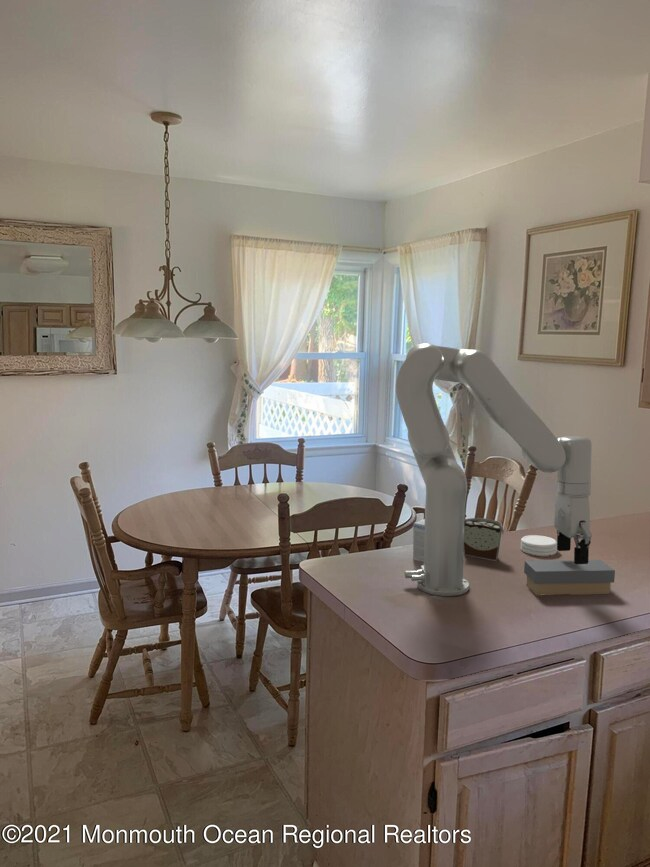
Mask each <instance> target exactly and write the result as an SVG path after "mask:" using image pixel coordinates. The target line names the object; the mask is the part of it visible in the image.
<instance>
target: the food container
mask: <svg viewBox="0 0 650 867" xmlns="http://www.w3.org/2000/svg"><path fill="white" fill-rule="evenodd" d="M504 533H505V530H504V527H503V524H502V523H501V522H500V521H499V520H495V519H490V518H483V517H482V518H481V517H472V518H471V517H470V518H465V520H464V556H467V557H472V558H478V559H483V560H488V561H494V562H497V561H498V560H499V558H498V557H499V552H500V544H501V539H502V538H501V537H502V535H504Z"/></svg>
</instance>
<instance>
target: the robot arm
mask: <svg viewBox="0 0 650 867" xmlns="http://www.w3.org/2000/svg"><path fill="white" fill-rule="evenodd" d="M435 381H442V382H450V383H451V382H452V383H461V384H463V386H465V388H466V389H467V390H468V392H469V393H470V394H471V395H472V397H473V398H474V399H475V400H476V401H477V403H478V404H479V405H480V406H481V408H482V409H483V411H485V412H486V414H487V416H488V417H489V418H490V419H491V420H492V421H493V422H494V423H495V425H497V426H498V427H500V428H501V429H502V430H503V431H505V432H506V433H507V434H508V435H509V436H510V437H511V438H512V439H513V441H515V442H516V444H518V446H519V447H520V448H521V454H522V457H523V458H524V460H525V461H526V462H527V463H528V464H530V465H531V466H532V467H534V468H536V469H537V470H538V471H540V472H542V473H547V474H548V473H549V474H550V473H551V474H552V473H556V497H555V499H556V500H555V504H554V506H555V507H554V521H553V525H554V528H555V529H556V535H557V536H556V541H557V552H558V551H559V552H568V551H571V542H572V541H571V539H573V541H574V544H575V547H574V550H573V554H574V555H573V560H574V563H575V564H588V560H589V556H590V555H589V554H590V553H589V552H590V551H589V549H590V547H591V546H590V545H591V543H592V542H591V540H592V536H593V535H592V532H591V530H590V529H591V511H590V510H591V509H590V498H589V496H591V489H592V488H591V484H592V481H591V480H592V479H591V478H592V451H593V450H592V446H593V445H592V441H591V439H590V438H588V437H587V436H582V435H565V436H555V434H554V433H553V432H552V431H551V429H550V428H549V427H548V425H546V423H545V422H544V421H543V420H542V418H540V417H539V415H537V413H536V412H535V411H534V410H533V409H532V408H531V406H530V405H529V404H528V402H527V401H526V400H525V399H524V398H523V397H522V396H521V394H520V393H519V392H518V391H517V389H516V388H515V387H514V386H513V385H512V384H511V383H510V381H509V380H508V378H507V377H506V376H505V375H504V374H503V371H501V370H500V368H499V367H498V366H497V365H496V363H495V362H494V361H493V359H492V358H491V357H490V356H489V355H488V354H487V353H485V351H482V350H479V349H473V348H472V349H468V348H457V347H449V346H442V345H435V344H432V343H427V342H426V343H418V344H416V345H414V346H412V347H411V348H410V349H409V350H408V352H407V353H406V356H405V360H404V361H403V362H402V365H401V366H400V368H399V371H398V372H397V376H396V383H395V392H396V398H397V402H398V405H399V409H400V411H401V414H402V418H403V420H404V423H405V424H404V425H405V426H406V429H407V439H408V443H409V445H410V448H411V450H412V454H413V456H414V458H415V461H416V463H417V466H418V468H419V471H420V472H419V473H420V474H421V477H422V479H423V482H424V485H425V502H424V503H425V504H424V519H425V539H424V562H423V565H420V568H418V569H417V570H411V569H408V570H404V579H411V582H416V585H417V587H418V588H419V589H420V590H421V591H422V592H425V593H427V594H431V595H434V596H439V597H452V596H453V597H454V596H455V597H456V596H460V595H464V594H465V593H467V592H469V589H470V583H469V580H467V579H465V578H464V556H465V555H464V520H465V519H466V517H465V513H466V501H467V494H468V480H467V476H466V473H465V471H464V469H463V467H461V466H460V465H459V464H458V461H457V459H456V457H455V455H454V451H453V448H452V446H451V444H450V434H449V431H448V428H447V427H446V425H445V423H444V420H443V418H442V415H441V413H440V409H439V408H438V404H437V401H436V397H435V394H434V390H433V387H434V386H433V384H434V382H435ZM580 539H581V540H580Z"/></svg>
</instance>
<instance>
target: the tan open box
mask: <svg viewBox="0 0 650 867" xmlns="http://www.w3.org/2000/svg"><path fill="white" fill-rule="evenodd" d="M611 583H612V582H609V583H546V584H535V583H534V582H533V581H532V580H531V579H530V578H529V577H528V576H527V575H526V587H528V588H529V590H531V592H532V593H533V594H534V595H535V594H536V595H535V596H544V595H543V594H570V595H602V594H603V595H604V594H605V595H607V594H611ZM541 594H542V595H541Z"/></svg>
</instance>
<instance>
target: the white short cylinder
mask: <svg viewBox="0 0 650 867" xmlns="http://www.w3.org/2000/svg"><path fill="white" fill-rule="evenodd" d="M520 550H521V552H523V553H525V554H526V555H527V554H528V555H530V554H531V556H535V555H536V557H537V556H538V557H550V556H549V555H551V556H555V555H556V554H557V552H558V550H557V539H554V538H552V537H550V536H545V535H538V534H537V535H536V534H529V535H524V536H523V537H522V538H521V539H520Z"/></svg>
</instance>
